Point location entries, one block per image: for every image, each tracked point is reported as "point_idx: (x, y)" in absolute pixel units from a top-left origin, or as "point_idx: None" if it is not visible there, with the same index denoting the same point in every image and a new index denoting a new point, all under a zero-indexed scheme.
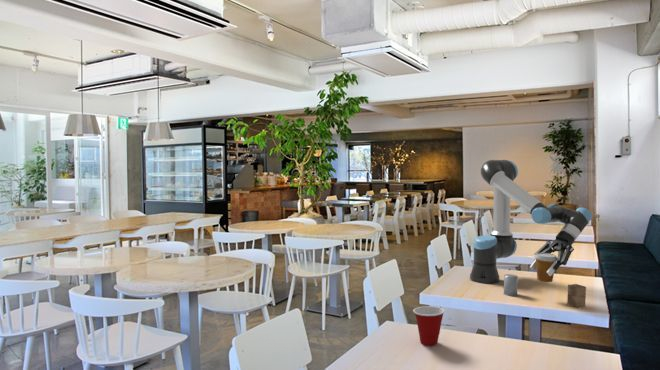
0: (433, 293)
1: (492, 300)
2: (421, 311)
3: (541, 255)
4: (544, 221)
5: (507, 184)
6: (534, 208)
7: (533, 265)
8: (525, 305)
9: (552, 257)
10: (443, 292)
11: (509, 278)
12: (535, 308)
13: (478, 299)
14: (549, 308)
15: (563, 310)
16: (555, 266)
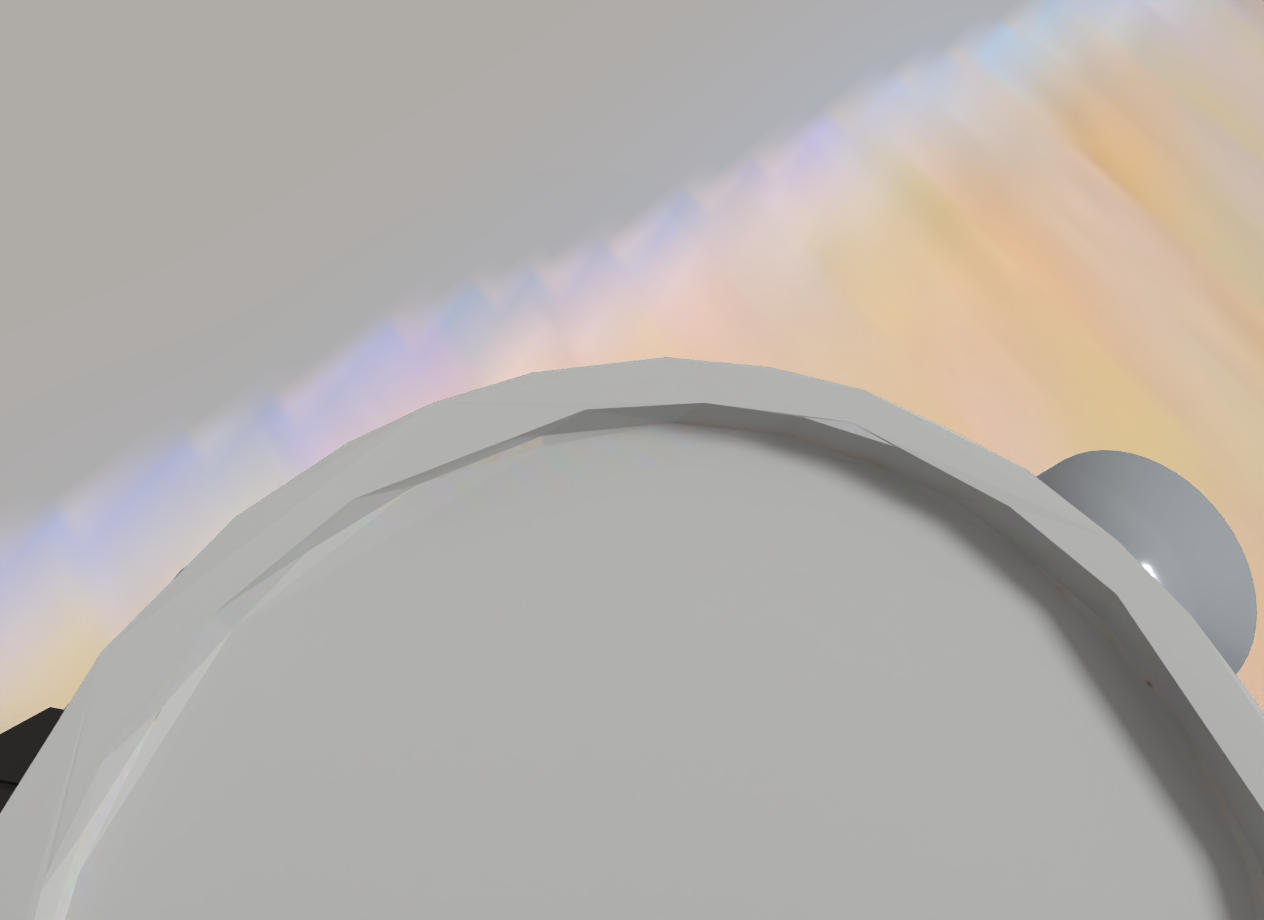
0: (1218, 14)
1: (830, 234)
2: None
3: (863, 710)
4: None
5: None
6: None
7: None
8: (499, 366)
9: (29, 781)
10: (1226, 96)
11: (1050, 468)
12: (346, 359)
13: (918, 155)
14: (218, 511)
15: (18, 600)
16: (6, 785)
